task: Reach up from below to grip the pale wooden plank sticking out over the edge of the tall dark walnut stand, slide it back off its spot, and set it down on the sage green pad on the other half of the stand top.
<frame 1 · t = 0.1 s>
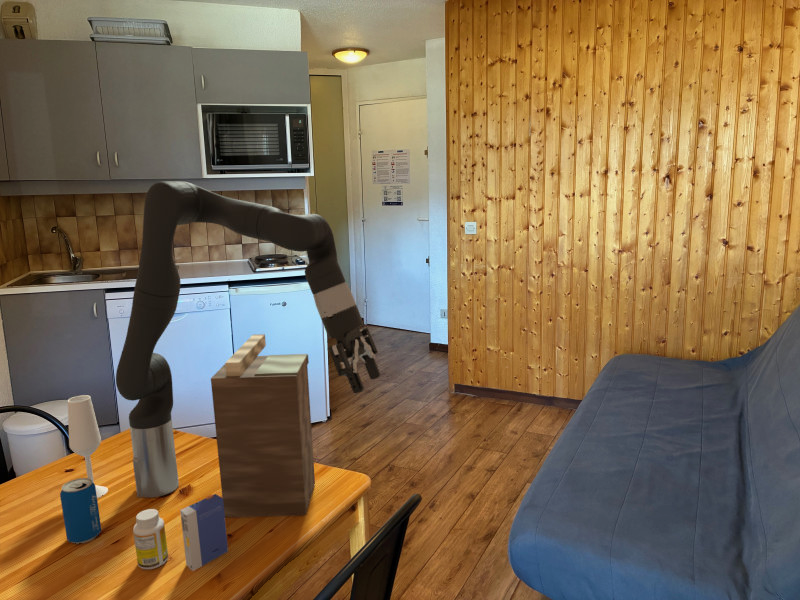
hand: (367, 384, 119), 31 cm above the table, tool tilted 20°, fingers open, 8 cm apart
blue cardboard box: (207, 559, 116), on the table
walnut stand: (279, 480, 146), on the table
champagne flute: (92, 493, 143), on the table
beverage can: (84, 537, 125), on the table
pale wooden plank: (247, 359, 137), point 32 cm above the table, touching walnut stand
supplement bottle: (153, 562, 116), on the table
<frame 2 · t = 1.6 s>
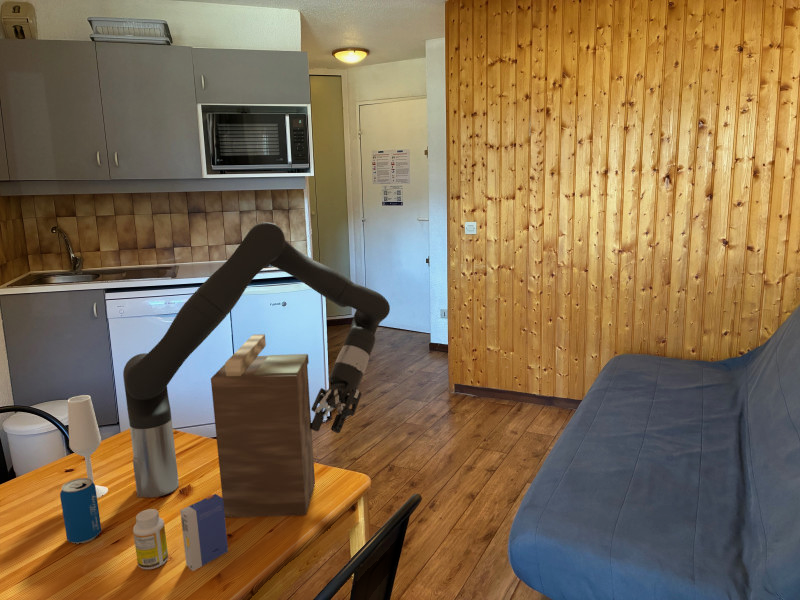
hand: (324, 430, 137), 15 cm above the table, tool tilted 45°, fingers open, 8 cm apart
nothing on the table moved.
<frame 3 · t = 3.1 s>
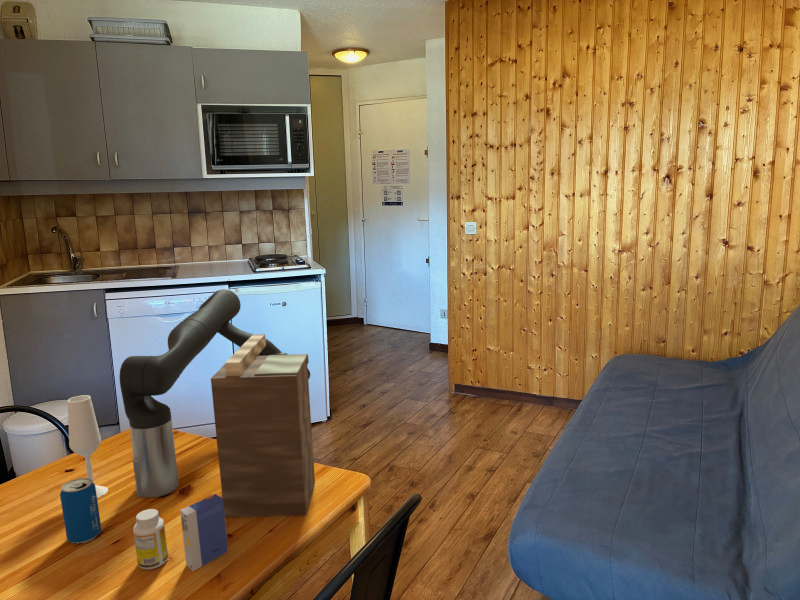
hand: (268, 357, 155), 27 cm above the table, tool pointing upward, fingers open, 8 cm apart
nothing on the table moved.
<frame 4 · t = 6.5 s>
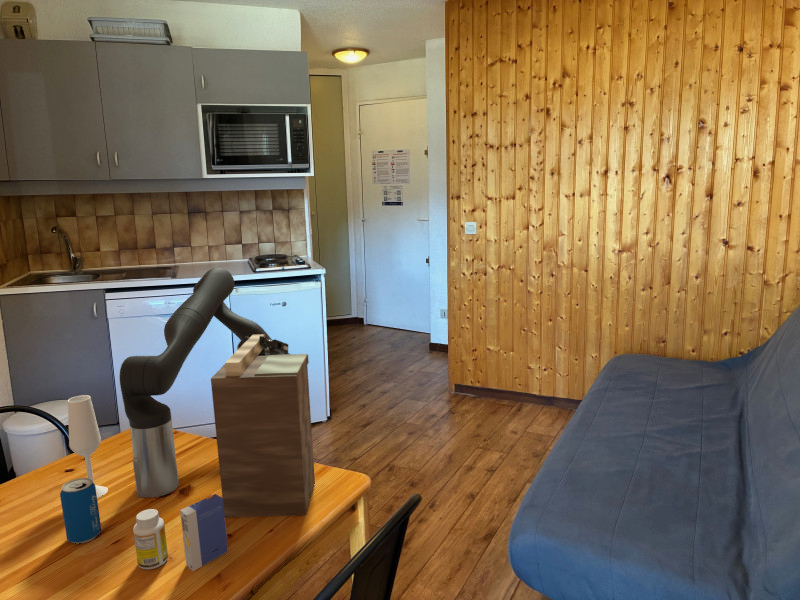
hand: (253, 340, 143), 35 cm above the table, tool pointing upward, fingers closed on pale wooden plank, 3 cm apart
pale wooden plank: (247, 359, 137), point 32 cm above the table, touching gripper, walnut stand
everything else where it was.
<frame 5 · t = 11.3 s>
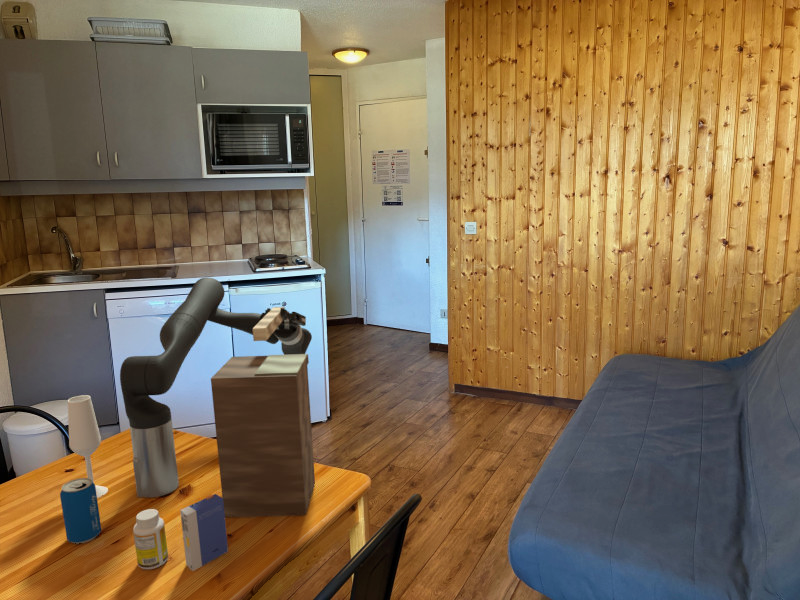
hand: (275, 311, 156), 39 cm above the table, tool pointing upward, fingers closed on pale wooden plank, 3 cm apart
pale wooden plank: (270, 328, 150), point 36 cm above the table, touching gripper
everything else where it was.
when the fingers open (37 cm above the table, at t = 16.1 s): pale wooden plank drops 1 cm, resting on walnut stand.
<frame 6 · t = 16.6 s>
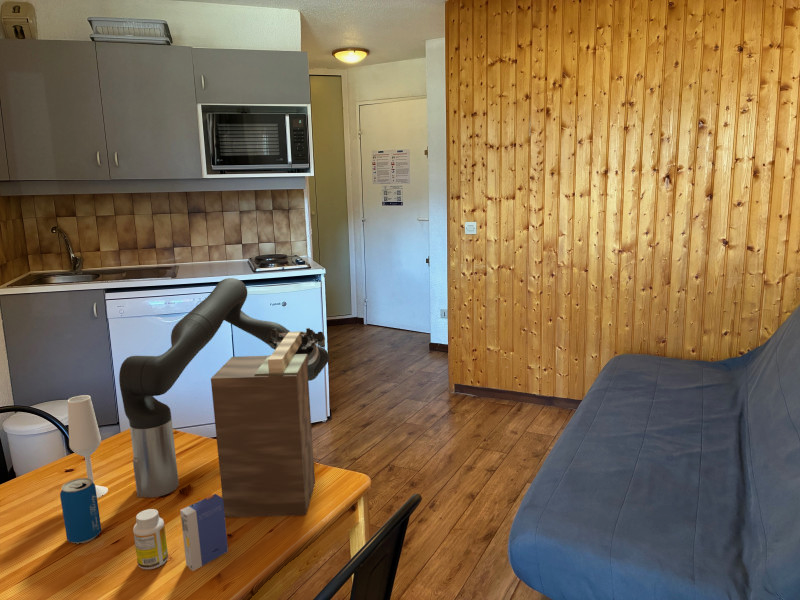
hand: (291, 332, 143), 36 cm above the table, tool pointing upward, fingers open, 7 cm apart
pale wooden plank: (286, 356, 137), point 32 cm above the table, touching walnut stand
everything else where it was.
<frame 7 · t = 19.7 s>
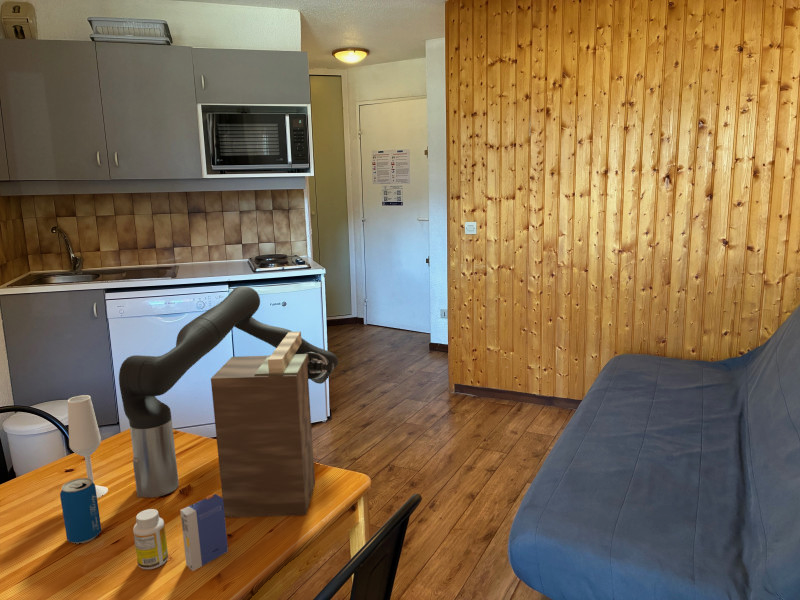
hand: (301, 364, 153), 26 cm above the table, tool pointing upward, fingers open, 8 cm apart
nothing on the table moved.
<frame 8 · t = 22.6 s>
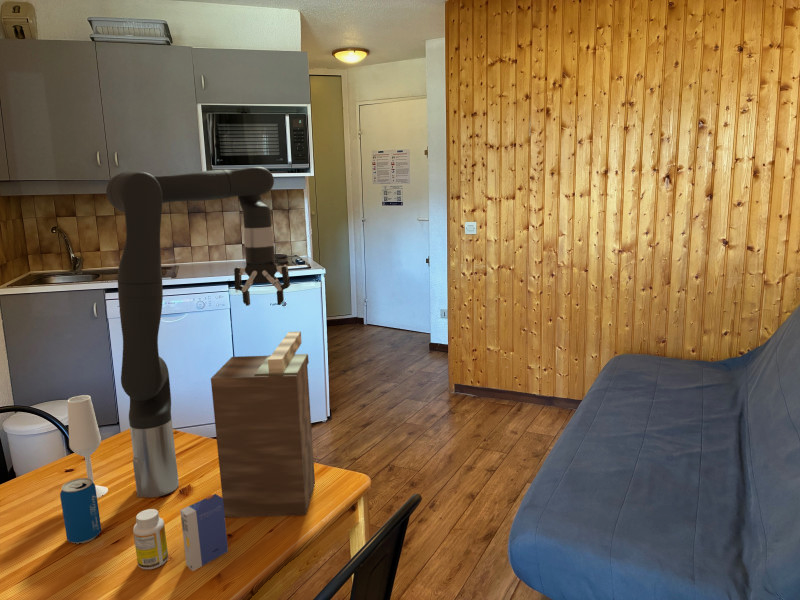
hand: (263, 304, 159), 40 cm above the table, tool pointing down, fingers open, 8 cm apart
nothing on the table moved.
at the end: pale wooden plank 0.1 cm from the target spot on the walnut stand, point 32.4 cm above the walnut stand's base; pale wooden plank tilted 0°; the gripper is holding nothing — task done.
